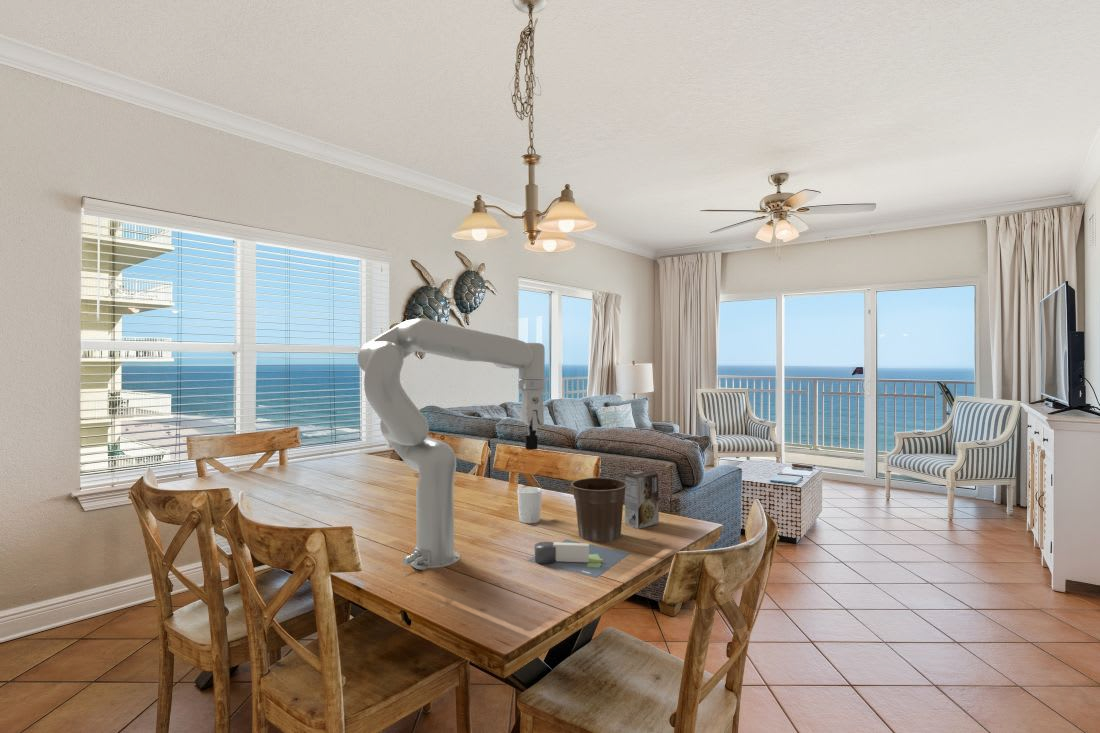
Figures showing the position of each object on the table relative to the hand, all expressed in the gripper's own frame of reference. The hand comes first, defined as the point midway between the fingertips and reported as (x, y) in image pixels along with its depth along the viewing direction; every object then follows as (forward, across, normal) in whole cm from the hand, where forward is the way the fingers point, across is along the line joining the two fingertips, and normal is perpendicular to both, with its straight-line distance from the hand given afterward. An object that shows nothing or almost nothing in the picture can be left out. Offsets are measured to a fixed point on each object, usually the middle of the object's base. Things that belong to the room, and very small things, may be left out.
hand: (531, 448), depth 158 cm
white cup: (+26, +18, -3) cm, 32 cm away
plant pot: (+26, -4, -20) cm, 33 cm away
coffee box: (+26, +6, -37) cm, 46 cm away
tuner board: (+26, -19, -9) cm, 34 cm away
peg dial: (+25, -21, -6) cm, 33 cm away
